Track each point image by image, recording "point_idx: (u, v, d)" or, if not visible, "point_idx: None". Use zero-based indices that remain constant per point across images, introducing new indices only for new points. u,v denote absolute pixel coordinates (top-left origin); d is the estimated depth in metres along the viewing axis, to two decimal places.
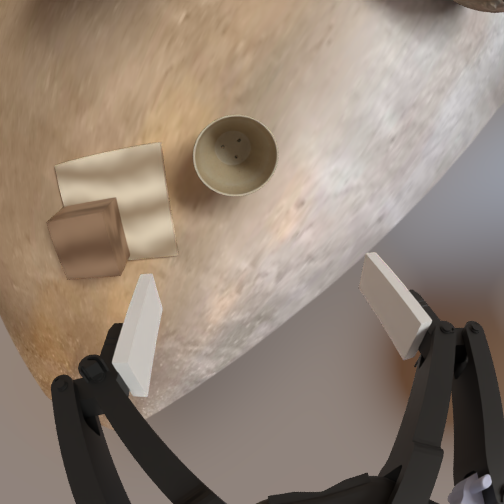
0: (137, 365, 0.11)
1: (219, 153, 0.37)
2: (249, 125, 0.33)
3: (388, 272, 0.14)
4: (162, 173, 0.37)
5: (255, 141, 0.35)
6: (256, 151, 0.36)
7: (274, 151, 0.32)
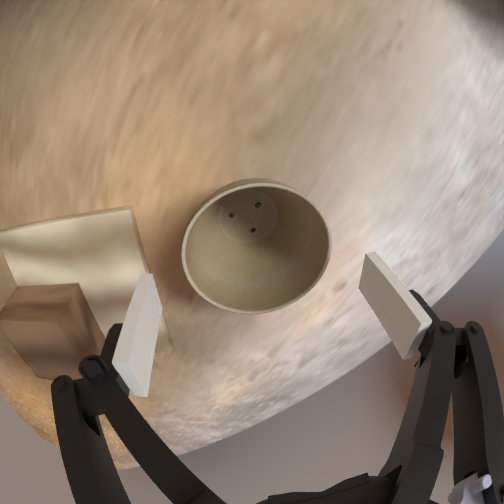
0: (137, 365, 0.11)
1: (226, 225, 0.24)
2: (278, 189, 0.20)
3: (388, 272, 0.14)
4: (138, 255, 0.24)
5: (285, 209, 0.22)
6: (285, 224, 0.23)
7: (323, 242, 0.19)
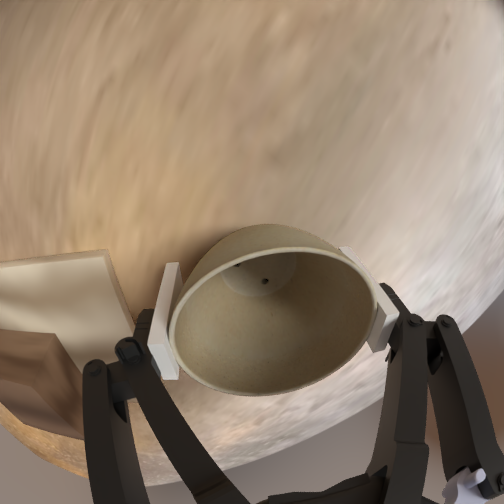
0: (170, 347, 0.12)
1: (229, 276, 0.18)
2: None
3: (359, 265, 0.15)
4: (119, 310, 0.18)
5: (310, 259, 0.17)
6: (308, 276, 0.18)
7: (363, 313, 0.13)
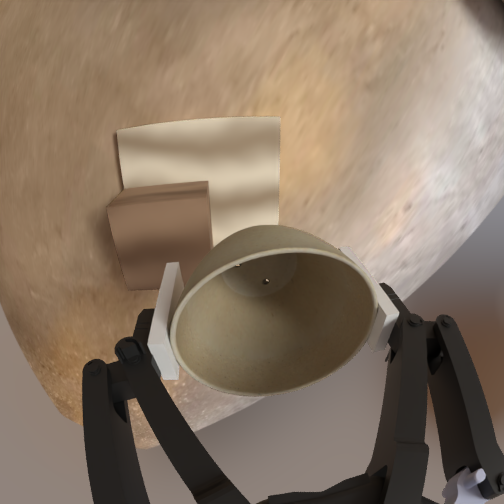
0: (170, 347, 0.12)
1: (230, 276, 0.18)
2: None
3: (359, 265, 0.15)
4: (278, 156, 0.29)
5: (310, 259, 0.17)
6: (309, 277, 0.18)
7: (364, 313, 0.13)
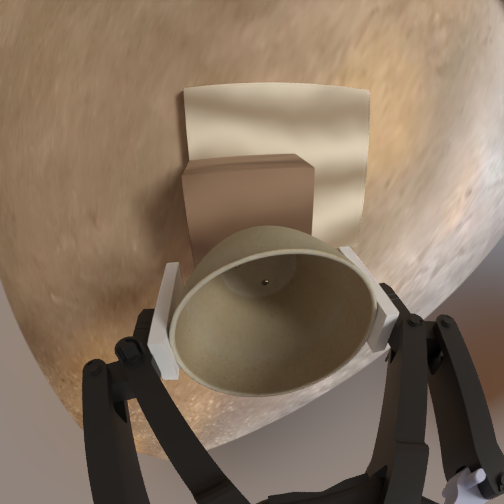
0: (170, 347, 0.12)
1: (229, 277, 0.18)
2: None
3: (359, 265, 0.15)
4: (367, 131, 0.25)
5: (310, 260, 0.17)
6: (308, 277, 0.18)
7: (363, 314, 0.13)
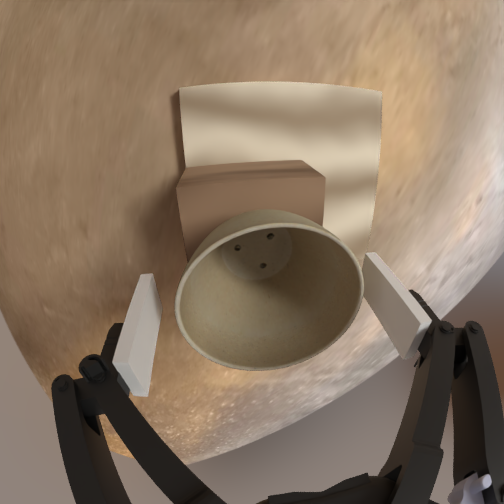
0: (137, 365, 0.11)
1: (230, 260, 0.20)
2: None
3: (388, 272, 0.14)
4: (379, 136, 0.22)
5: (304, 244, 0.18)
6: (303, 261, 0.19)
7: (352, 291, 0.15)
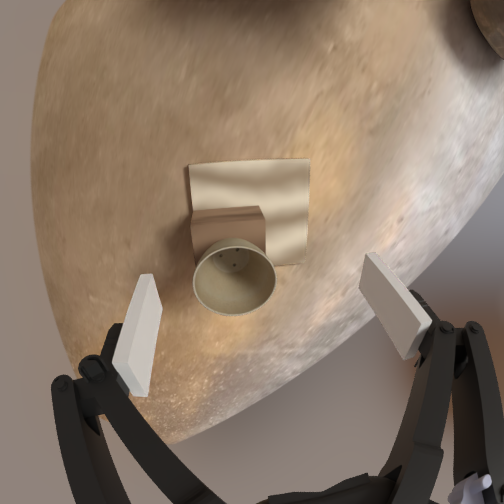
0: (137, 365, 0.11)
1: (217, 262, 0.38)
2: None
3: (388, 272, 0.14)
4: (308, 187, 0.42)
5: (254, 253, 0.37)
6: (254, 262, 0.38)
7: (273, 275, 0.34)
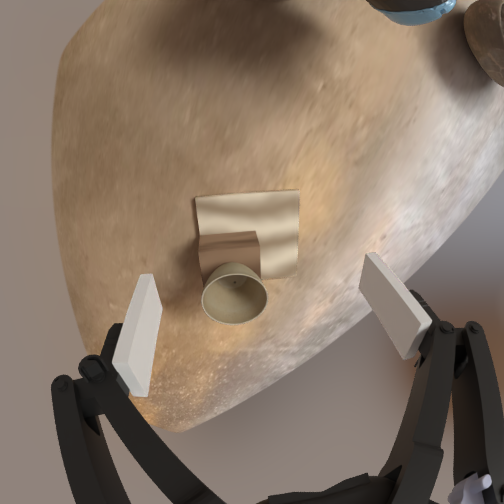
0: (137, 365, 0.11)
1: (221, 280, 0.47)
2: (245, 267, 0.43)
3: (388, 272, 0.14)
4: (298, 214, 0.49)
5: None
6: (251, 280, 0.46)
7: (265, 294, 0.42)
